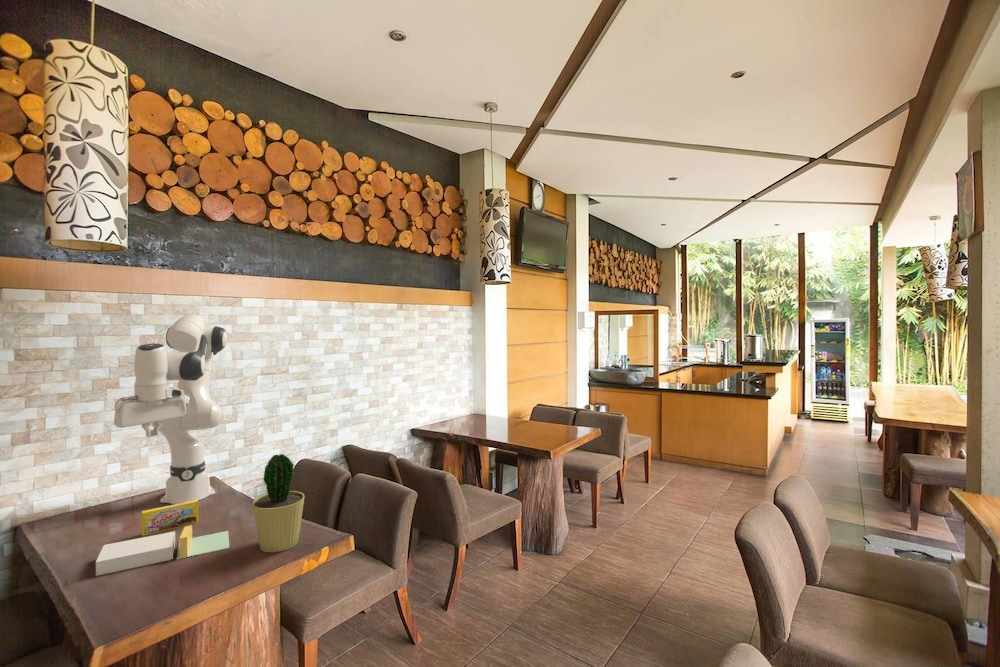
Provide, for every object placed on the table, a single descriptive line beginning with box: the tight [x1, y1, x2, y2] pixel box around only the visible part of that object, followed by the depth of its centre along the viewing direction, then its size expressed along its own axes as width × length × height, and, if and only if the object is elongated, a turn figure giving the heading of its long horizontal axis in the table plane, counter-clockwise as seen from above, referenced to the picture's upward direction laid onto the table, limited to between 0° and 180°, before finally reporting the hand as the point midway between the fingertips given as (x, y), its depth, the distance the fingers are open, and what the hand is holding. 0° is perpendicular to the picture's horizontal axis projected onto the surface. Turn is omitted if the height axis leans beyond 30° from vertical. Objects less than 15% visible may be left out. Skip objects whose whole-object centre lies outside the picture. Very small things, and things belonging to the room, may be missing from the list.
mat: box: [175, 530, 230, 561], centre depth 153 cm, size 14×14×1 cm
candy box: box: [141, 500, 199, 537], centre depth 165 cm, size 16×2×8 cm, turn 132°
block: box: [178, 524, 193, 557], centre depth 149 cm, size 9×6×2 cm
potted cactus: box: [251, 453, 305, 553], centre depth 153 cm, size 15×15×30 cm
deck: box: [95, 531, 176, 577], centre depth 144 cm, size 12×18×4 cm, turn 122°
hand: (152, 435), depth 154 cm, fingers closed
